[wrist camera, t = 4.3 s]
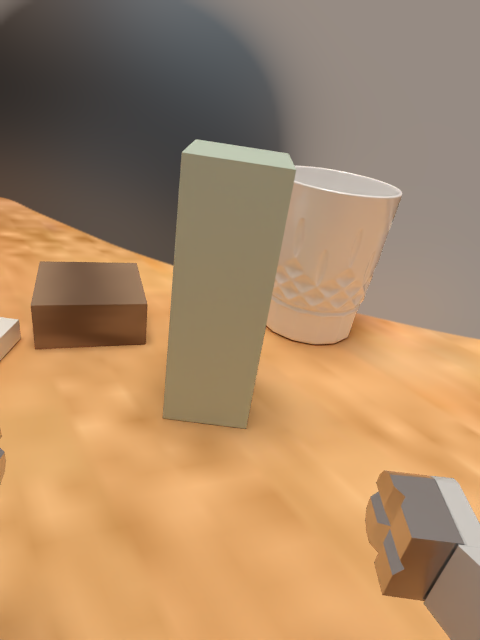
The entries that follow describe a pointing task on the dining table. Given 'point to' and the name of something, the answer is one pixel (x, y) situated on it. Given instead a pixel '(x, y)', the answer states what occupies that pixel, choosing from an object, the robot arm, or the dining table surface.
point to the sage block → (223, 278)
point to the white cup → (329, 252)
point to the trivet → (8, 334)
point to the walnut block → (88, 305)
